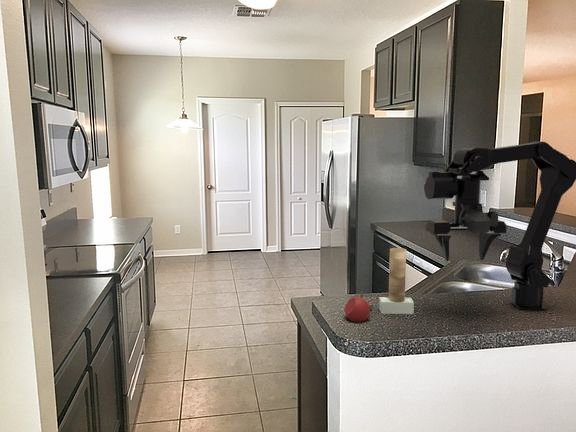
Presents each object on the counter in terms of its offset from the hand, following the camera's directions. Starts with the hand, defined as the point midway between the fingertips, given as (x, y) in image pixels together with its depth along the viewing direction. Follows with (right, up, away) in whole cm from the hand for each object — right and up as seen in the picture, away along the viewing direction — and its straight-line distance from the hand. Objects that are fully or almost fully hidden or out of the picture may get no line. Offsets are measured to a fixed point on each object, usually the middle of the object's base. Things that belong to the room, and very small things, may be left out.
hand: (464, 260), depth 124 cm
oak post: (-17, -10, 0) cm, 20 cm away
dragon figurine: (-25, -14, +1) cm, 28 cm away
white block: (-17, -13, +1) cm, 22 cm away
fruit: (-26, -14, -4) cm, 30 cm away
